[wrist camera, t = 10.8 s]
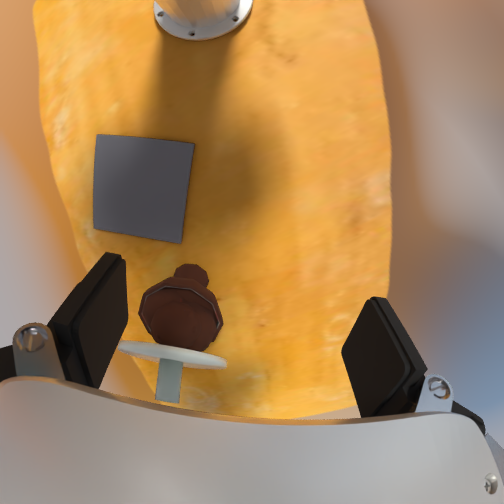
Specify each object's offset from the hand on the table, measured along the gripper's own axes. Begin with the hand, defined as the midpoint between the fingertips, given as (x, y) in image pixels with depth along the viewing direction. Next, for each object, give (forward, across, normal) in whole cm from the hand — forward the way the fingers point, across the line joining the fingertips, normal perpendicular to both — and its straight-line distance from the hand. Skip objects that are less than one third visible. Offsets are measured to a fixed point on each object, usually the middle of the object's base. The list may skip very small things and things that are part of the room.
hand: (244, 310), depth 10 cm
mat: (+28, +14, +5) cm, 32 cm away
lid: (+14, +5, +20) cm, 25 cm away
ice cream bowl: (+28, +5, +18) cm, 34 cm away
